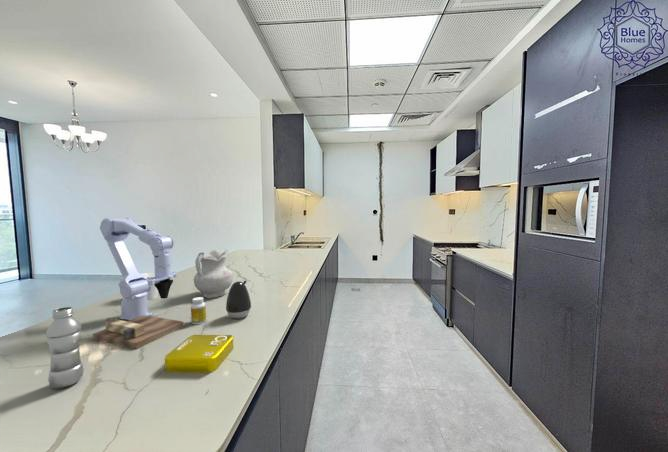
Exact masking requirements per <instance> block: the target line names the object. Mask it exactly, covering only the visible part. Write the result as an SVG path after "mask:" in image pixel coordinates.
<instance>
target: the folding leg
mask: <svg viewBox="0 0 668 452" xmlns="http://www.w3.org/2000/svg"><path fill="white" fill-rule="evenodd" d="M127 321H128V320H123V319H122V320H120V319H116V317H113V316H112V317H111V316H110V317H107V318H106V319H105V329H106V330H107V331H112V332H116V333H120V334H123V330H126V329H128V328H132V329H134V337H137V336H140V335H142V334H145V330H144V325H141V324H136V323H131V322H127Z"/></svg>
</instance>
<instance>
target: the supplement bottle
mask: <svg viewBox="0 0 668 452" xmlns="http://www.w3.org/2000/svg"><path fill="white" fill-rule="evenodd" d="M206 311H207V310H206V303H205V302H204V297H203V296H198V297H194V298H192V304H191V306H190V320H191V324H193V325H200V324H204V323H205V322H206V321H207V312H206Z"/></svg>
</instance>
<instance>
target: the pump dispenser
mask: <svg viewBox="0 0 668 452" xmlns="http://www.w3.org/2000/svg"><path fill="white" fill-rule="evenodd" d="M246 284H247V280H243V282H242V281H234V282H232V283H231V285H230V287H229V290H228V292H227V296H226V297H227V298H226V302H225V303H226V304H225V311H226V313H227V315H228V316H229V317H230V318H231V319H235V320H237V319H238V320H239V319H243V318H245V317H246V316H247V315H248V314H249V313H250V311H251V308H252V301H251V297H250V293H249V290H248V288H247V286H246Z"/></svg>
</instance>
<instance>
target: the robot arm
mask: <svg viewBox="0 0 668 452" xmlns="http://www.w3.org/2000/svg"><path fill="white" fill-rule="evenodd" d="M99 230H100V232H101V234H102V237H103V239H104V240H105V241H106V244H107V246H108V247H109V251H110V253H111V254H112V257H113V258H114V260H115V263H116V266H117V267H118V269H119V272H120V273H121V276H122V279H121V280H120V281H119V283H118V286H119V293H120V295H121V297H122V300H121V302H120V312H121V313H120V314H121V316H119V319H122V320H126V321H129V320H131V319H134V318H137V317H140V316H142V315H147V316H151V315H153V312H149V311H148V300H147V294H148V292H149V291H150V289H151V285H154V286H155V287H156V288H157V290H158V294H159V296H160V299H168V297H169V292H170V289H171V286H172V285H173V283H174V279H173V278H176V277H178V272H177V271H173V272H172V261H171V258H172V257H171V249H172V248H173V247H174V239H173V238H172V237H171V236H170V235H164V236H163V235H162V234H161V233H158V232H156V231H154V229H152V228H145V229H144V228H142V227H141V226H140V225H138V224H136V223H134V220H133V219H131V218H129V217H125V218H123V217H122V218H121V217H120V218H103V219H102V220H101V222H100V226H99ZM130 234H132V235H135V236H137V237H138V240H139V241H141V242H142V243H145V244H146V245H148V246H149V247H150V248H149V249H150V250H151V251H152V252H151V253H152V256H153V263H154V272H155V277H154V278H152V279H150V280H148V279H147V278H146V276H145V275H143V274H144V273H140V272H138V269H137V267H136V266H135V263H134V261H133V259H132V257H131V254H130V253H129V251H128V249H127V247H126V244H125V240H126V239H127V238H128V236H129V235H130Z"/></svg>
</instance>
